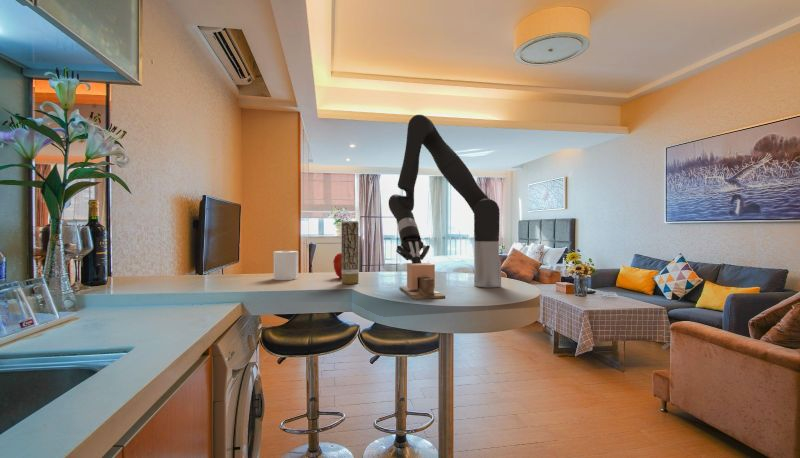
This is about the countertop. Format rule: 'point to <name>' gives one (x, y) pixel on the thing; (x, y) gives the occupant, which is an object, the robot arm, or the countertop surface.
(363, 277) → the countertop surface
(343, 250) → the brown tall block
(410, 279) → the light brown square block
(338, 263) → the apple
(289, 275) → the toilet paper
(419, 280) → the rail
